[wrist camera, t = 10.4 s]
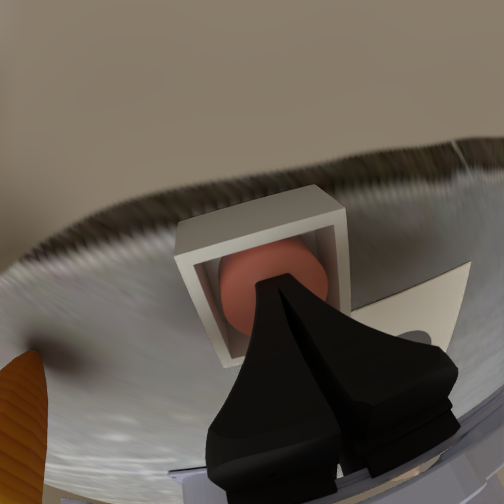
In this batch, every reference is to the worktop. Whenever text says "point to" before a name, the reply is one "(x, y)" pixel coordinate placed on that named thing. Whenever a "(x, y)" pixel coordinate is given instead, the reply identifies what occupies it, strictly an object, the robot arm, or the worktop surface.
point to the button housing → (255, 234)
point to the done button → (265, 276)
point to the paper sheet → (420, 309)
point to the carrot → (23, 429)
